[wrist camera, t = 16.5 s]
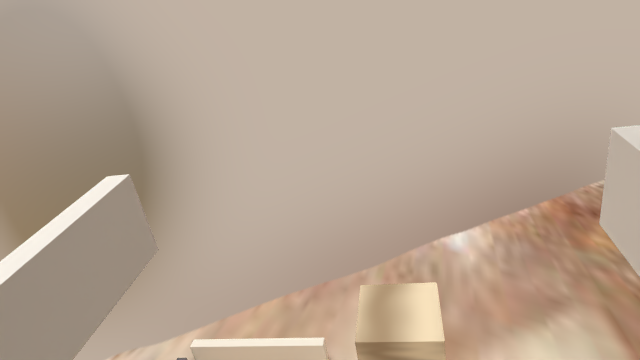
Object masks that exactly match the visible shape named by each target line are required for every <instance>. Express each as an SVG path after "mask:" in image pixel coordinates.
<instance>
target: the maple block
mask: <svg viewBox="0 0 640 360" xmlns="http://www.w3.org/2000/svg"><path fill="white" fill-rule="evenodd" d="M355 345H356V350H357V356H358V360H446V355H445V340H444V333H443V325H442V318H441V311H440V303H439V296H438V289H437V283H410V284H383V285H360V295H359V305H358V316H357V327H356V338H355Z"/></svg>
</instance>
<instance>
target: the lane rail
mask: <svg viewBox="0 0 640 360" xmlns="http://www.w3.org/2000/svg"><path fill="white" fill-rule="evenodd" d="M190 348H191V350H192V353H193V356H194V358H195V360H329V357H328V353H327V348H326V343H325V339H324V338H270V339H201V340H193V342H192V344H191V346H190Z"/></svg>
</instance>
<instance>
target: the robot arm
mask: <svg viewBox="0 0 640 360" xmlns="http://www.w3.org/2000/svg"><path fill="white" fill-rule="evenodd" d="M599 224H600V225H601V227H602V228H603V229H604V231H605V232H606V233H607V235H608V236H609V237H610V239H611V240H612V241H613V242H614V244H615V245H616V246H617V248H618V249H619V250H620V252H621V253H622V254H623V256H624V257H625V258H626V260H627V261H628V262H629V263H630V265H631V266H632V267H633V269H634V270H635V271H636V273H637V274H638V275H639V277H640V125H637V126H627V127H616V128H611V133H610V142H609V149H608V158H607V165H606V174H605V182H604V190H603V198H602V206H601V215H600V223H599ZM157 251H158V247H157V245H156V242H155V239H154V236H153V234H152V232H151V229H150V227H149V223H148V221H147V218H146V216H145V213H144V210H143V208H142V205H141V203H140V200H139V197H138V195H137V192H136V190H135V187H134V185H133V182H132V179H131V177H130V175H129V174H128V175H118V176H107V177H106V178H105V179H103V180H102V181H101V182H100V183H98V184H97V185H96V186H95V187H94V188H92V189H91V190H90V191H88V192H87V193H86V194H84V195H83V196H82V197H81V198H80V199H78V200H77V201H76V202H74V203H73V204H72V205H71V206H70V207H68V208H67V209H66V210H64V211H63V212H62V213H61V214H59V215H58V216H57V217H56V218H54V219H53V220H52V221H51V222H49V223H48V224H47V225H46V226H44V227H43V228H42V229H40V230H39V231H38V232H37V233H35V234H34V235H33V236H32V237H30V238H29V239H28V240H27V241H26V242H24V243H23V244H22V245H20V246H19V247H18V248H17V249H15V250H14V251H13V252H12V253H10V254H9V255H8V256H7V257H5V258H4V259H3V260H2V261H0V360H73V359H74V358H75V356H76V355H77V354H78V352H79V351H80V350H81V349H82V347H83V346H84V345H85V344H86V342H87V341H88V340H89V338H90V337H91V336H92V335H93V333H94V332H95V331H96V329H97V328H98V327H99V325H100V324H101V323H102V322H103V320H104V319H105V318H106V317H107V315H108V314H109V313H110V311H111V310H112V309H113V307H114V306H115V305H116V304H117V302H118V301H119V300H120V299H121V297H122V296H123V295H124V293H125V292H126V291H127V290H128V288H129V287H130V286H131V284H132V283H133V282H134V281H135V279H136V278H137V277H138V275H139V274H140V273H141V272H142V270H143V269H144V268H145V266H146V265H147V264H148V262H149V261H150V260H151V259H152V257H153V256H154V255H155V254H156V252H157Z"/></svg>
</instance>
